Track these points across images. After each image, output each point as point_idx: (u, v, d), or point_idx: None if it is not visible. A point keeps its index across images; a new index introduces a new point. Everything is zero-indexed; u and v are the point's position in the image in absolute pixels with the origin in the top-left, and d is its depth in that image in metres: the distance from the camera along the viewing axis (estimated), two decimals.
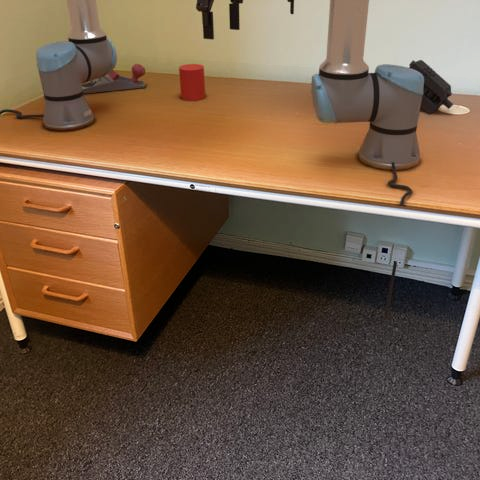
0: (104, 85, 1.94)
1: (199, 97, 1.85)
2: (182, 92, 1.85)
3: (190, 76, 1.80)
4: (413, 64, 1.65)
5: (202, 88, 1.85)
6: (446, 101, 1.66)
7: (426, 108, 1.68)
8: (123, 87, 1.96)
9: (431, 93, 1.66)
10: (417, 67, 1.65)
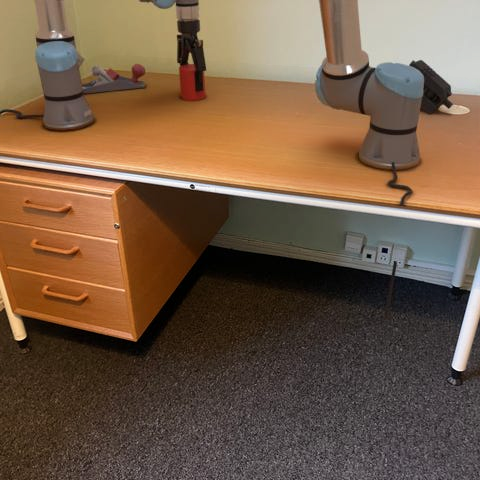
0: (104, 85, 1.94)
1: (199, 97, 1.85)
2: (182, 92, 1.85)
3: (190, 76, 1.80)
4: (413, 64, 1.65)
5: None
6: (446, 101, 1.66)
7: (426, 108, 1.68)
8: (123, 87, 1.96)
9: (431, 93, 1.66)
10: (417, 67, 1.65)
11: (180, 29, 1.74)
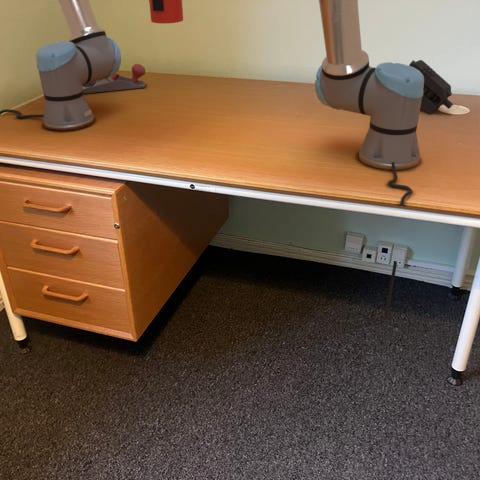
0: (104, 85, 1.94)
1: (160, 20, 1.38)
2: None
3: None
4: (413, 64, 1.65)
5: (165, 8, 1.37)
6: (446, 101, 1.66)
7: (426, 108, 1.68)
8: (123, 87, 1.96)
9: (431, 93, 1.66)
10: (417, 67, 1.65)
11: None
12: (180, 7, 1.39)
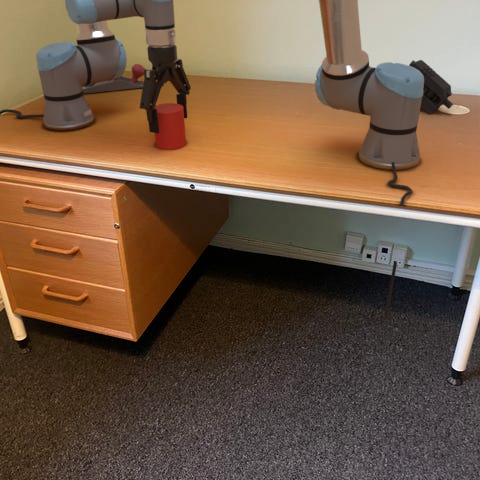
0: (104, 85, 1.94)
1: (162, 146, 1.47)
2: None
3: None
4: (413, 64, 1.65)
5: (166, 137, 1.45)
6: (446, 101, 1.66)
7: (426, 108, 1.68)
8: (123, 87, 1.96)
9: (431, 93, 1.66)
10: (417, 67, 1.65)
11: None
12: (181, 135, 1.47)
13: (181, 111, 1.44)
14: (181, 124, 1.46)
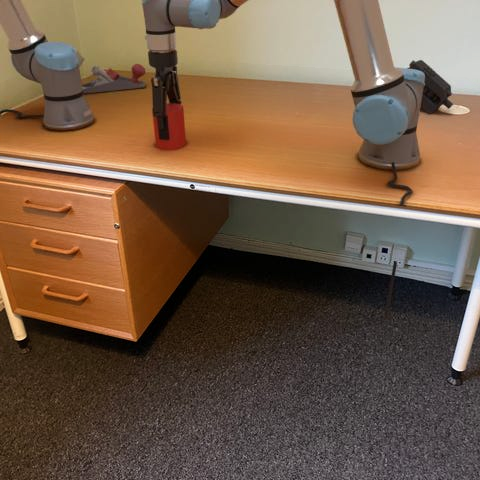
0: (104, 85, 1.94)
1: (162, 146, 1.47)
2: None
3: (153, 118, 1.45)
4: (413, 64, 1.65)
5: None
6: (446, 101, 1.66)
7: (426, 108, 1.68)
8: (123, 87, 1.96)
9: (431, 93, 1.66)
10: (417, 67, 1.65)
11: None
12: (181, 135, 1.47)
13: (181, 111, 1.44)
14: (181, 124, 1.46)
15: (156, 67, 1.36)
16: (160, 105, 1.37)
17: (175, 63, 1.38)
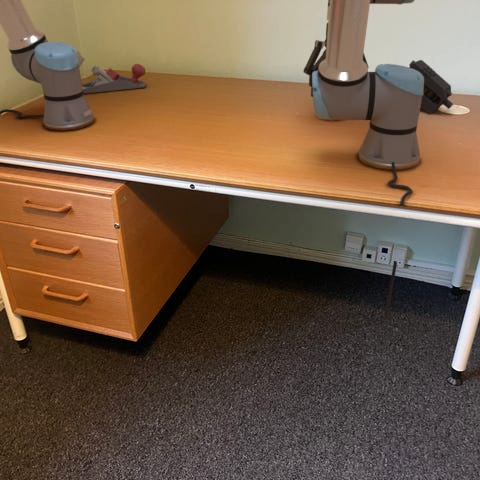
0: (104, 85, 1.94)
1: None
2: None
3: None
4: (413, 64, 1.65)
5: None
6: (446, 101, 1.66)
7: (426, 108, 1.68)
8: (123, 87, 1.96)
9: (431, 93, 1.66)
10: (417, 67, 1.65)
11: None
12: None
13: None
14: None
15: (326, 35, 1.55)
16: (310, 63, 1.56)
17: None
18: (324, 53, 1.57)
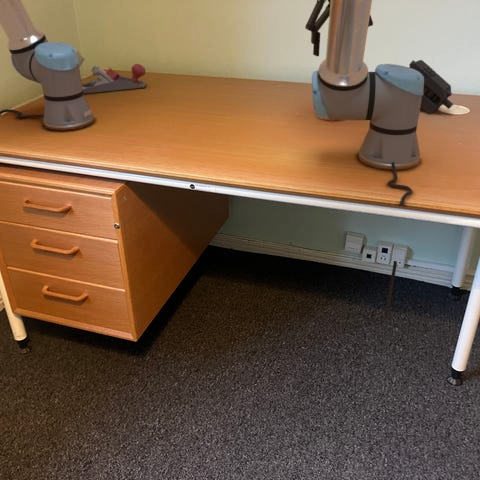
0: (104, 85, 1.94)
1: None
2: None
3: None
4: (413, 64, 1.65)
5: None
6: (446, 101, 1.66)
7: (426, 108, 1.68)
8: (123, 87, 1.96)
9: (431, 93, 1.66)
10: (417, 67, 1.65)
11: None
12: None
13: None
14: None
15: None
16: (312, 19, 1.50)
17: None
18: (327, 8, 1.51)
